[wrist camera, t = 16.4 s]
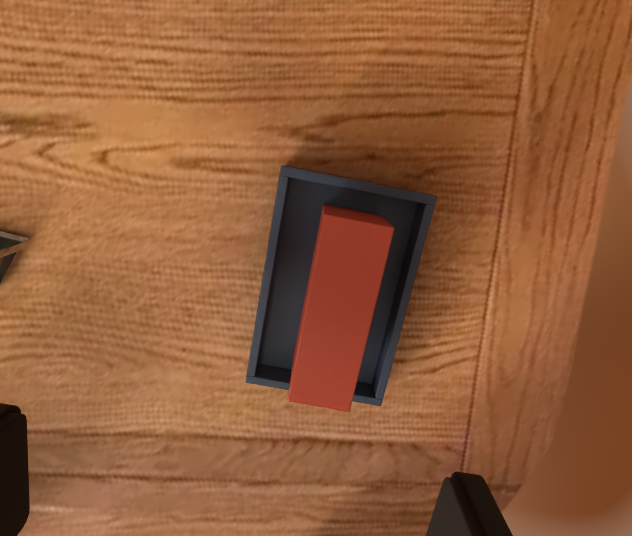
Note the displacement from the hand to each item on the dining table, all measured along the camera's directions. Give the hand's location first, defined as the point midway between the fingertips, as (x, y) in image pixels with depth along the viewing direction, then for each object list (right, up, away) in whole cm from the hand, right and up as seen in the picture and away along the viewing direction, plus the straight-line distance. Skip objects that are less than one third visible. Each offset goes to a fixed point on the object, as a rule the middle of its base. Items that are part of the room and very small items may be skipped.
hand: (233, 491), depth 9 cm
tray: (+3, +4, +21) cm, 22 cm away
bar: (+3, +3, +21) cm, 21 cm away
